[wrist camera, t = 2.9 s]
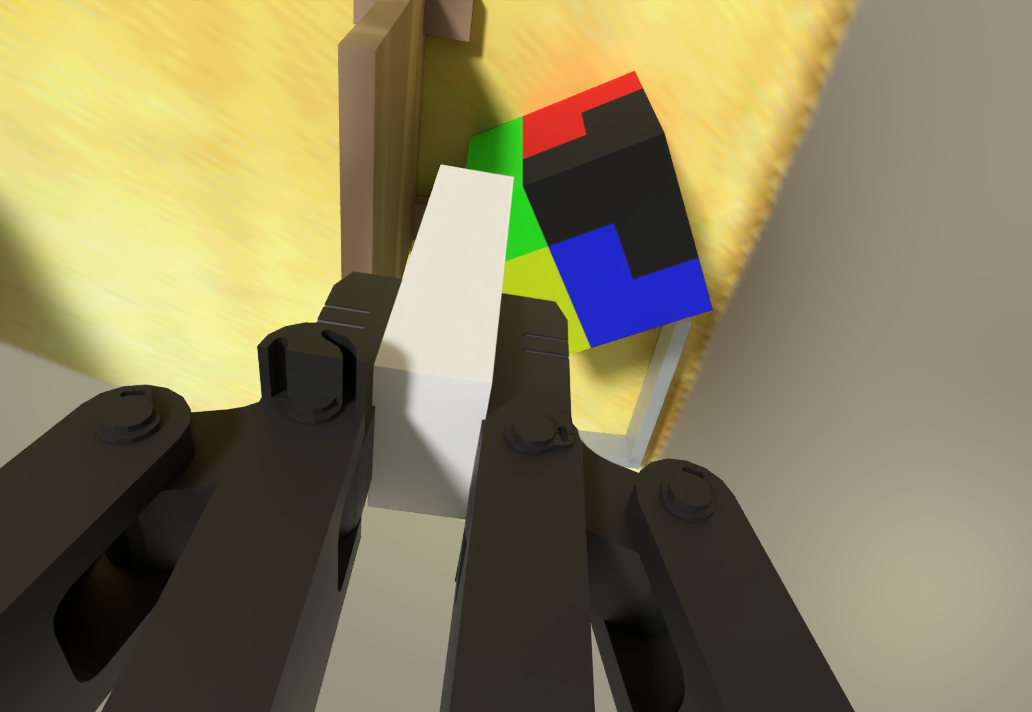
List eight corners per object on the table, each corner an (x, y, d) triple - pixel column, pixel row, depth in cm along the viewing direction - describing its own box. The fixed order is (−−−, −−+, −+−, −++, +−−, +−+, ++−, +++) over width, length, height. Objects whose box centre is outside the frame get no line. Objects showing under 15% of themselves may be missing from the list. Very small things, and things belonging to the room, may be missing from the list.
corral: (413, 421, 54) (409, 444, 52) (424, 269, 45) (419, 289, 43) (634, 445, 55) (639, 468, 53) (685, 302, 47) (692, 323, 45)
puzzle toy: (677, 223, 43) (712, 309, 35) (532, 273, 46) (533, 365, 38) (634, 70, 38) (664, 132, 30) (470, 137, 40) (457, 211, 32)
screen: (357, 227, 43) (290, 387, 31) (358, -39, 34) (262, 33, 22) (451, 239, 44) (422, 402, 31) (475, -20, 35) (449, 61, 22)
